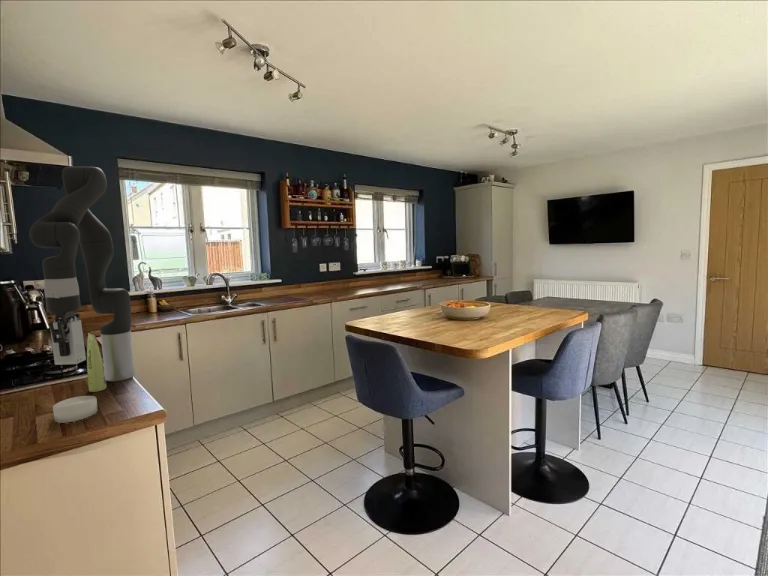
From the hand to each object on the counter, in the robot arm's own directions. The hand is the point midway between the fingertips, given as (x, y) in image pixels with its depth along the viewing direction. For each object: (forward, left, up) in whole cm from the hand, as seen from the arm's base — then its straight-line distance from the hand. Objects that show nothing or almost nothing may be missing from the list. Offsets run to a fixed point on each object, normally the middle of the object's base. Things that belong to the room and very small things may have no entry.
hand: (69, 352), depth 114 cm
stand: (0, 0, -19) cm, 19 cm away
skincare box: (0, 0, -3) cm, 3 cm away
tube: (-22, -1, -19) cm, 29 cm away
